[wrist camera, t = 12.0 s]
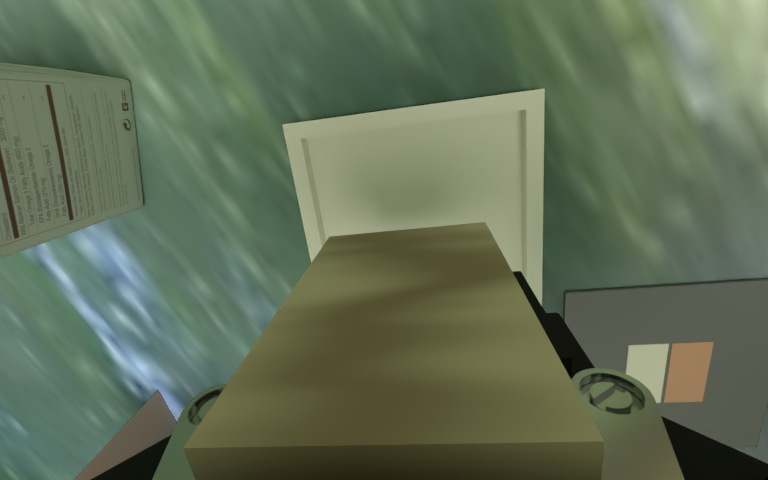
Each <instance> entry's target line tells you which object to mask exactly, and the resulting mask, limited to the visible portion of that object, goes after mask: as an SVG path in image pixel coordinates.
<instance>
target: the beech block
mask: <svg viewBox="0 0 768 480" xmlns="http://www.w3.org/2000/svg"><path fill="white" fill-rule="evenodd" d="M604 442H605V441H604V439H603V437H602V436H601V434H600V432H599V430H598V428H597V426H596V425H595V423H594V421H593V419H592V417H591V415H590V414H589V412H588V410H587V408H586V406H585V404H584V403H583V401H582V399H581V397H580V395H579V393H578V392H577V390H576V388H575V386H574V384H573V382H572V380H571V379H570V377H569V375H568V373H567V371H566V369H565V368H564V366H563V364H562V362H561V360H560V358H559V357H558V355H557V353H556V351H555V349H554V347H553V346H552V344H551V342H550V340H549V338H548V336H547V335H546V333H545V331H544V329H543V327H542V325H541V324H540V322H539V320H538V318H537V316H536V314H535V312H534V311H533V309H532V307H531V305H530V303H529V301H528V300H527V298H526V296H525V294H524V292H523V290H522V289H521V287H520V285H519V283H518V281H517V279H516V278H515V276H514V274H513V272H512V270H511V268H510V267H509V265H508V263H507V261H506V259H505V257H504V256H503V254H502V252H501V250H500V248H499V246H498V244H497V243H496V241H495V239H494V237H493V235H492V233H491V232H490V230H489V228H488V226H487V224H486V222H480V223H469V224H458V225H448V226H437V227H426V228H416V229H405V230H394V231H383V232H373V233H362V234H351V235H341V236H330V237H329V238H328V240H327V241H326V242H325V244H324V245H323V247H322V248H321V250H320V251H319V252H318V254H317V255H316V257H315V258H314V260H313V261H312V263H311V264H310V265H309V267H308V268H307V270H306V271H305V273H304V274H303V276H302V277H301V278H300V280H299V281H298V283H297V284H296V286H295V287H294V289H293V290H292V291H291V293H290V294H289V296H288V297H287V299H286V300H285V301H284V303H283V304H282V306H281V307H280V309H279V310H278V312H277V313H276V314H275V316H274V317H273V319H272V320H271V322H270V323H269V325H268V326H267V327H266V329H265V330H264V332H263V333H262V335H261V336H260V338H259V339H258V340H257V342H256V343H255V345H254V346H253V348H252V349H251V350H250V352H249V353H248V355H247V356H246V358H245V359H244V361H243V362H242V363H241V365H240V366H239V368H238V369H237V371H236V372H235V374H234V375H233V376H232V378H231V379H230V381H229V382H228V384H227V385H226V387H225V388H224V389H223V391H222V392H221V394H220V395H219V397H218V398H217V399H216V401H215V402H214V404H213V405H212V407H211V408H210V410H209V411H208V412H207V414H206V415H205V417H204V418H203V420H202V421H201V423H200V424H199V425H198V427H197V428H196V430H195V431H194V433H193V434H192V436H191V437H190V438H189V440H188V441H187V443H186V444H185V446H184V447H183V450H184V452H185V455H186V457H187V460H188V462H189V464H190V467H191V469H192V472H193V474H194V477H195V479H196V480H601V476H602V464H603V453H604Z"/></svg>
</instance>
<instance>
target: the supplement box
mask: <svg viewBox="0 0 768 480" xmlns="http://www.w3.org/2000/svg"><path fill="white" fill-rule="evenodd" d="M142 206H143V193H142V182H141V172H140V164H139V153H138V145H137V136H136V126H135V118H134V109H133V102H132V93H131V86H130V82H129V81H128V80H126V79H122V78H116V77H109V76H103V75H97V74H90V73H84V72H77V71H70V70H63V69H56V68H48V67H39V66H30V65H20V64H10V63H0V259H1V258H3V257H6V256H9V255H12V254H15V253H17V252H20V251H23V250H26V249H28V248H31V247H34V246H37V245H39V244H42V243H45V242H48V241H50V240H53V239H56V238H58V237H61V236H64V235H66V234H69V233H72V232H75V231H77V230H80V229H83V228H86V227H88V226H91V225H94V224H97V223H99V222H102V221H105V220H107V219H110V218H113V217H116V216H118V215H121V214H123V213H126V212H129V211H131V210H134V209H137V208H139V207H142Z"/></svg>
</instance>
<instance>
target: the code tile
mask: <svg viewBox="0 0 768 480" xmlns="http://www.w3.org/2000/svg"><path fill="white" fill-rule="evenodd" d="M564 322H565V323H566V325H567V326H568V328H569V329H570V331H571V332H572V334H573V335H574V337H575V338H576V340H577V341H578V343H579V344H580V346H581V348H582V349H583V351H584V352H585V354H586V355H587V357H588V358H589V360H590V361H591V363H592V364H593V366H594V367H595V368H605V369H610V370H615V371H619V372H621V373H624V374H627V375H629V376H631V377H633V378H635V379H636V380H638V381H640V382H641V383H642V384H643V385H644V386H646V387H647V388H648V389H649V390H650V392H651V393H652V395H653V397H654V398H655V401H656V404H657V406H658V409H659V412H660V414H661V416H662V417H665V418H667V419H669V420H671V421H674V422H676V423H678V424H680V425H682V426H685V427H687V428H689V429H691V430H694V431H696V432H698V433H700V434H702V435H705V436H707V437H709V438H711V439H714V440H716V441H718V442H720V443H722V444H725V445H727V446H729V447H757V443H758V439H759V435H760V432H761V428H762V424H763V420H764V417H765V413H766V409H767V405H768V278H766V279H750V280H735V281H720V282H704V283H689V284H673V285H658V286H642V287H627V288H611V289H596V290H581V291H565V294H564Z"/></svg>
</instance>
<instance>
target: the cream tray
mask: <svg viewBox="0 0 768 480" xmlns="http://www.w3.org/2000/svg"><path fill="white" fill-rule="evenodd" d="M544 103H545V89H537V90H530V91H523V92H515V93H508V94H501V95H494V96H486V97H479V98H472V99H464V100H457V101H450V102H443V103H435V104H428V105H421V106H413V107H406V108H399V109H392V110H384V111H377V112H370V113H362V114H355V115H348V116H341V117H333V118H326V119H319V120H311V121H304V122H297V123H290V124H282V126H283V131H284V135H285V140H286V145H287V150H288V154H289V159H290V164H291V169H292V173H293V178H294V183H295V188H296V192H297V197H298V202H299V207H300V211H301V216H302V221H303V226H304V231H305V235H306V240H307V245H308V250H309V254H310V259H311V263H312V261H313V260H314V258H315V257H316V255H317V254H318V252H319V251H320V250H321V248H322V247H323V245H324V244H325V242H326V241H327V240H328V238H329V237H330V236H341V235H351V234H362V233H373V232H383V231H394V230H405V229H416V228H426V227H437V226H448V225H458V224H469V223H480V222H486V224H487V226H488V228H489V230H490V232H491V233H492V235H493V237H494V239H495V241H496V243H497V244H498V246H499V248H500V250H501V252H502V254H503V256H504V257H505V259H506V261H507V263H508V265H509V267H510V268H511V270H512V272H514V271H521V272H522V274H523V276H524V277H525V279H526V281H527V282H528V284H529V286H530V287H531V289H532V291H533V292H534V294H535V296H536V297H537V299H538V301H539V303H540V304H541V306H542V262H543V183H544Z"/></svg>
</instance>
